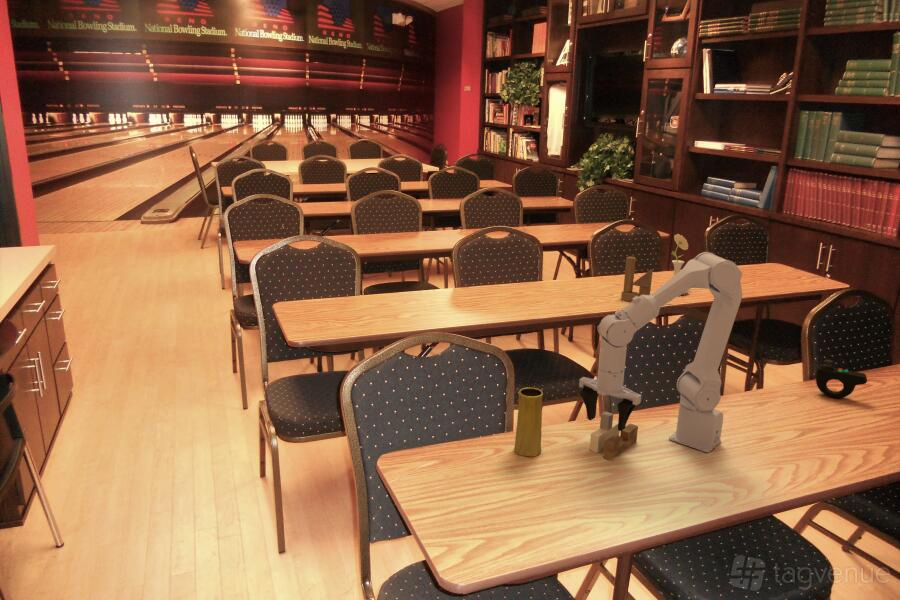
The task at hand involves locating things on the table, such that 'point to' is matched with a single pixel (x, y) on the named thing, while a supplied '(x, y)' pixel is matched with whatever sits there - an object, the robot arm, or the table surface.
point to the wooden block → (629, 278)
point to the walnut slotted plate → (620, 442)
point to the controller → (844, 376)
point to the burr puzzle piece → (603, 432)
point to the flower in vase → (677, 263)
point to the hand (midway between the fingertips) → (606, 423)
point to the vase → (529, 422)
